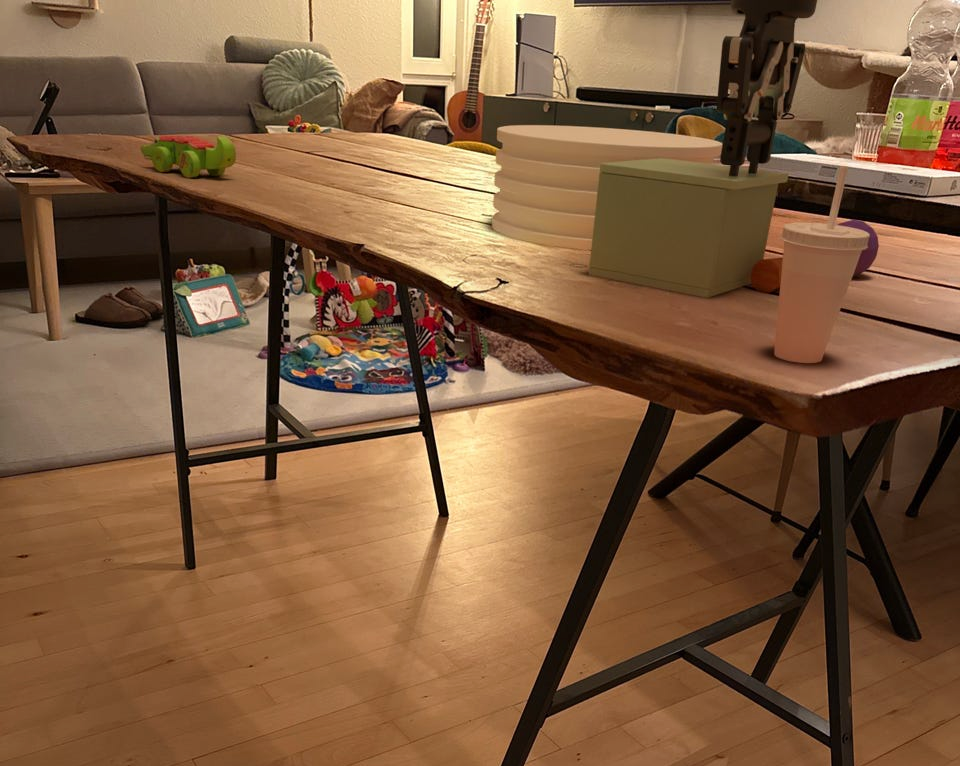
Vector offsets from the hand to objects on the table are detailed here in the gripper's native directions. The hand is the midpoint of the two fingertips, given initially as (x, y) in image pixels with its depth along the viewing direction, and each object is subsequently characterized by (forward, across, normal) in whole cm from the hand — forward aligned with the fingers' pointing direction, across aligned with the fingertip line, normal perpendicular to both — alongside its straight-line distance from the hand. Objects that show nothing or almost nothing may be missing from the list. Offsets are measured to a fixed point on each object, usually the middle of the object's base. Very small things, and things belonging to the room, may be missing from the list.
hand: (745, 163), depth 94 cm
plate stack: (+12, +19, +27) cm, 35 cm away
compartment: (+12, 0, +6) cm, 13 cm away
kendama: (+12, +11, -5) cm, 17 cm away
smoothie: (+12, -21, -16) cm, 29 cm away
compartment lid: (+2, 0, +5) cm, 5 cm away
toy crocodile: (+12, +10, +99) cm, 100 cm away
